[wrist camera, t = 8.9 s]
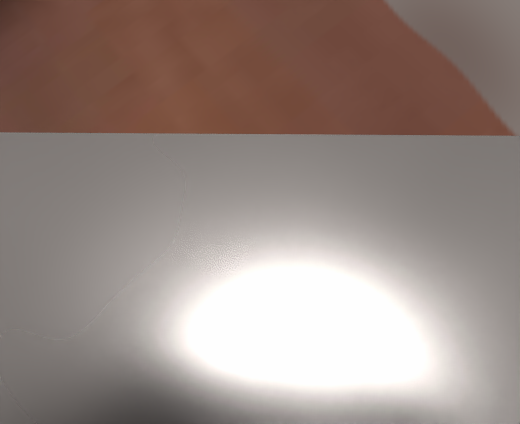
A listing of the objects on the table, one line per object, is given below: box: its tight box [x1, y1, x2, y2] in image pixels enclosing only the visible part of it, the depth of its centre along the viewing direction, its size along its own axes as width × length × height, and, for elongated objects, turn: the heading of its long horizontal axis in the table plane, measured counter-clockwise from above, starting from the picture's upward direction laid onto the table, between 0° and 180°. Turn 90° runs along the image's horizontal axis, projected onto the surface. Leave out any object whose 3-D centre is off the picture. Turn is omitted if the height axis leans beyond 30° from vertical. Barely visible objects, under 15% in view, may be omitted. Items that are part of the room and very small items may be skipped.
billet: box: [0, 133, 520, 424], centre depth 9 cm, size 4×4×13 cm
